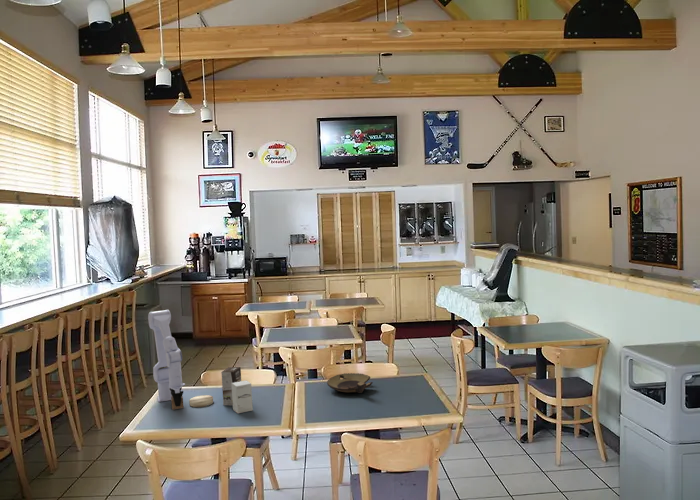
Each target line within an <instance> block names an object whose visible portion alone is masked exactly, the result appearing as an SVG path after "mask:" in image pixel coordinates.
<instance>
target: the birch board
mask: <svg viewBox="0 0 700 500" xmlns="http://www.w3.org/2000/svg"><path fill="white" fill-rule="evenodd" d="M188 402H189V406H190V407H192V408H202V407H204V408H205V407H207V405H208V406H210V405H213V403H214V397H213V396H212V395H207V394H205V395H196V396H194V397H191V398H190V399H189V401H188Z"/></svg>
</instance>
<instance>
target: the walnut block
mask: <svg viewBox="0 0 700 500" xmlns="http://www.w3.org/2000/svg"><path fill="white" fill-rule="evenodd" d="M170 401H171V409H172V411H175V410H178V409H179V410H180V409H184V397H183V395H182V398H181V405H180V406H177V407H176V406H175V402H174V399H173V396H171V400H170Z"/></svg>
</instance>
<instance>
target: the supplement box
mask: <svg viewBox="0 0 700 500" xmlns="http://www.w3.org/2000/svg"><path fill="white" fill-rule="evenodd" d="M231 385H232V401H233V405H232V410H233V411H234V412H235V413H236V414H242V413H246V412H253V411H254V409H253V394H252V393H253V391H252V382H250V381H248V380H241V381H240V382H234V383H231Z"/></svg>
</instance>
